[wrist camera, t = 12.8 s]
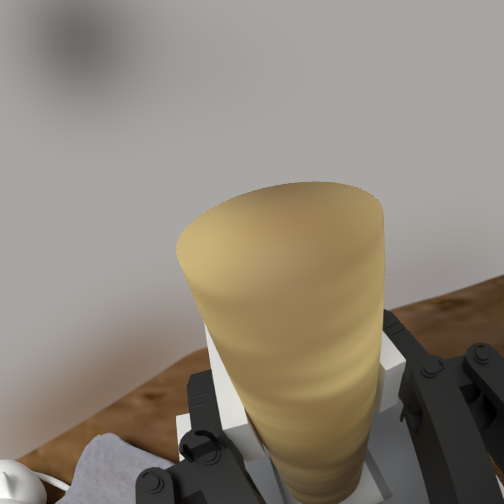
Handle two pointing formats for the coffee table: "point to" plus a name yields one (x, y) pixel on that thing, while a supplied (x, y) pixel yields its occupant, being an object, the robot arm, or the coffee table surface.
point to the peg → (297, 322)
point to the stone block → (109, 472)
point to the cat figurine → (24, 484)
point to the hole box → (374, 469)
